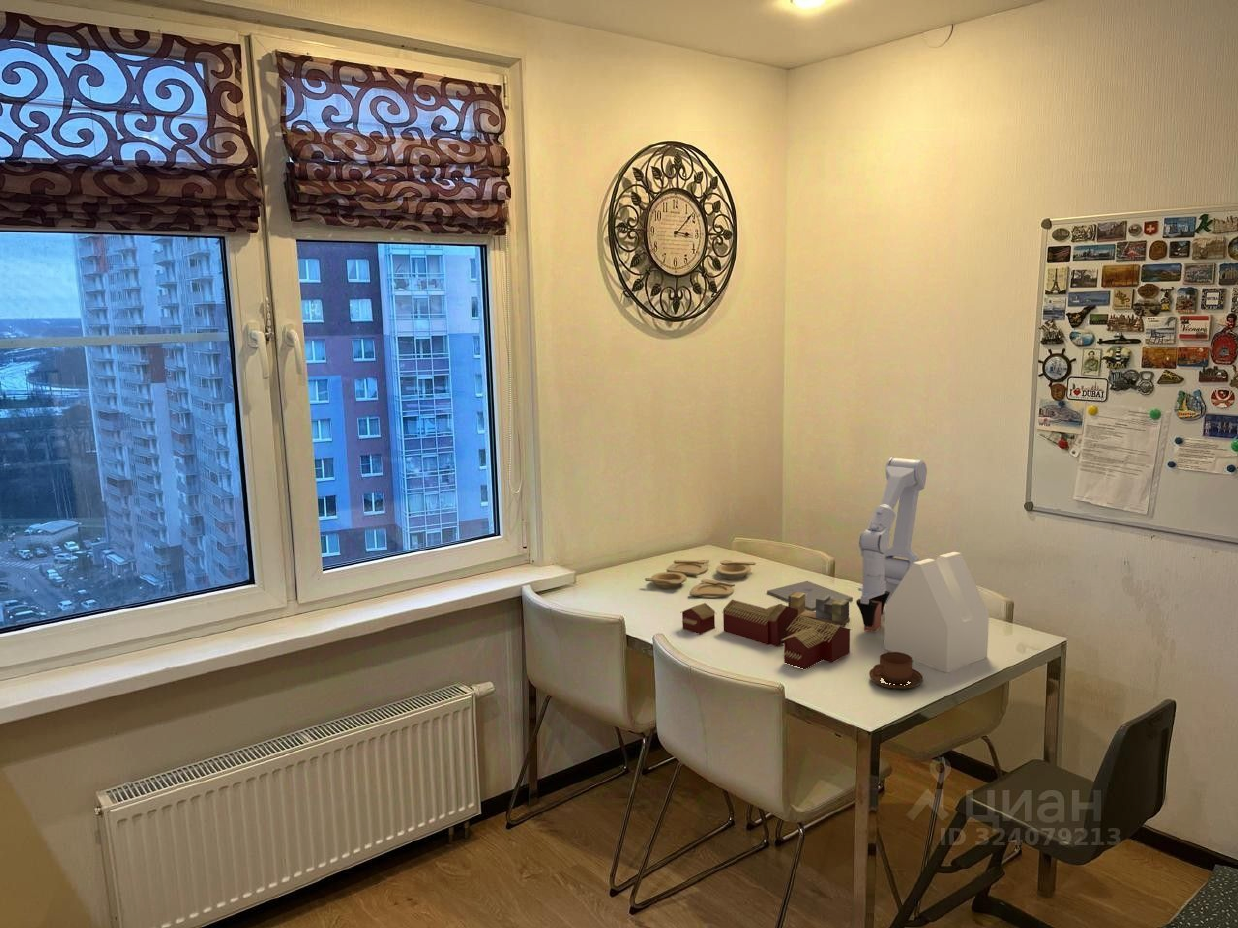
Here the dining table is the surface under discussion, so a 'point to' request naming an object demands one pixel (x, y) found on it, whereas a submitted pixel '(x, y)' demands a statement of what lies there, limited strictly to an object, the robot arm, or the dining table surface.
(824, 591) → the play button award
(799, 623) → the toy houses
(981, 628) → the milk carton
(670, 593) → the dining table surface
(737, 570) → the tableware set
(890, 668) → the cup and saucer
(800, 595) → the rack
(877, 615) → the red rectangular block
